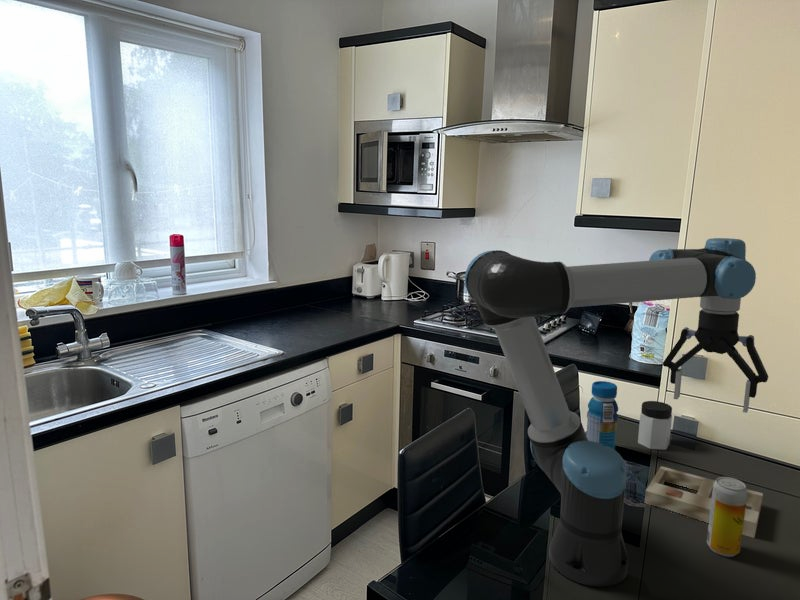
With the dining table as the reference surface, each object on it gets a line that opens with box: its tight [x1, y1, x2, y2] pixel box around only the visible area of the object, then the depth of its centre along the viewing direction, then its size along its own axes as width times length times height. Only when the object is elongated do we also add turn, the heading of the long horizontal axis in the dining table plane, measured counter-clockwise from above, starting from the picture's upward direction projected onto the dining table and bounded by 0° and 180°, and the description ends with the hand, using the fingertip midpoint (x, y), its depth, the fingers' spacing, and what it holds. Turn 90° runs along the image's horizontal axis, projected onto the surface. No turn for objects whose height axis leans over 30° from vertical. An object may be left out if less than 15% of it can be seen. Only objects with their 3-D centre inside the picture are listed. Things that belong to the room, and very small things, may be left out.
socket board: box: [644, 465, 764, 539], centre depth 134 cm, size 22×16×4 cm
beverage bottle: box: [586, 380, 619, 451], centre depth 161 cm, size 8×8×20 cm
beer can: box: [706, 476, 748, 558], centre depth 116 cm, size 6×6×15 cm
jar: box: [637, 400, 673, 451], centre depth 166 cm, size 9×8×12 cm
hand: (710, 404), depth 125 cm, fingers open, 13 cm apart
